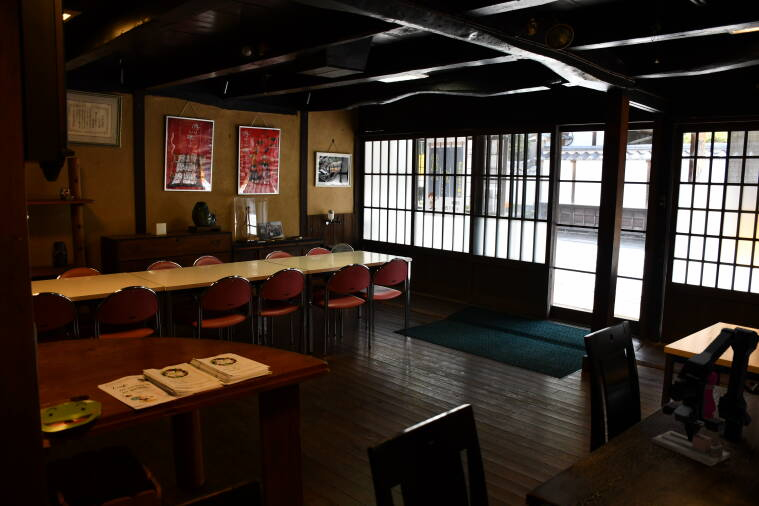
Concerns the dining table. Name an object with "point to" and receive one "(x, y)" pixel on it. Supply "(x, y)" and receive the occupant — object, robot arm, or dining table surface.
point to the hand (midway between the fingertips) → (690, 441)
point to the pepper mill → (710, 397)
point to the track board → (690, 448)
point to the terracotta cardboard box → (702, 442)
